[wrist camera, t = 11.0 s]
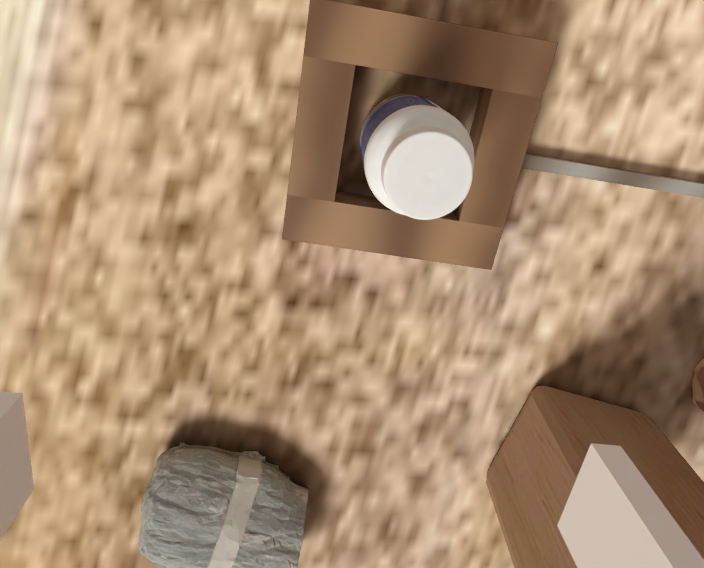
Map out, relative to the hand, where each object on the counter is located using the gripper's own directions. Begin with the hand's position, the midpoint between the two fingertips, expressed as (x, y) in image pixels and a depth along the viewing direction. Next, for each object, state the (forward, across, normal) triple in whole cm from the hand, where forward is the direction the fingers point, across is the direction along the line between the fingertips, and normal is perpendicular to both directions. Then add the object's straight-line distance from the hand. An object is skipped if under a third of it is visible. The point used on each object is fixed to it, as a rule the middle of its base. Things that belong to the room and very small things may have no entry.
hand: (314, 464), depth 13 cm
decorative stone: (+24, -4, -26) cm, 35 cm away
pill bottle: (+23, +4, +4) cm, 24 cm away
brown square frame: (+23, +12, +4) cm, 26 cm away
